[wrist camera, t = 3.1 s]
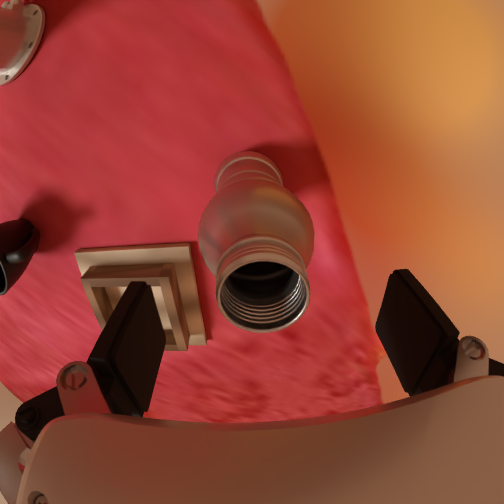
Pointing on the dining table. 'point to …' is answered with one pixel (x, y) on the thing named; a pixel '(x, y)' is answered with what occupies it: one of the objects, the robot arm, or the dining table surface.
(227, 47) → the dining table surface
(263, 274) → the plastic bottle
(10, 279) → the mug
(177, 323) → the bottle stand
